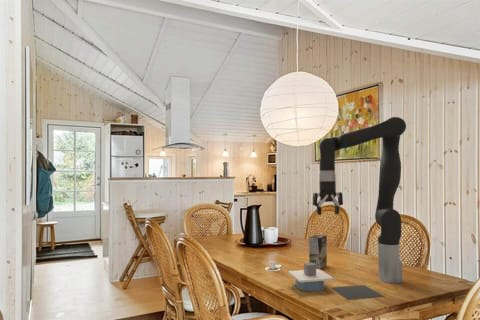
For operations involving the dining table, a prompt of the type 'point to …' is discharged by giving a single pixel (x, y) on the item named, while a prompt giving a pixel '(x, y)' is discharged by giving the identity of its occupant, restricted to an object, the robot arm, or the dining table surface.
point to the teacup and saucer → (273, 266)
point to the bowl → (310, 285)
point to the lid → (310, 274)
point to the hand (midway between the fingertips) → (328, 214)
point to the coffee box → (318, 250)
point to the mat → (356, 292)
